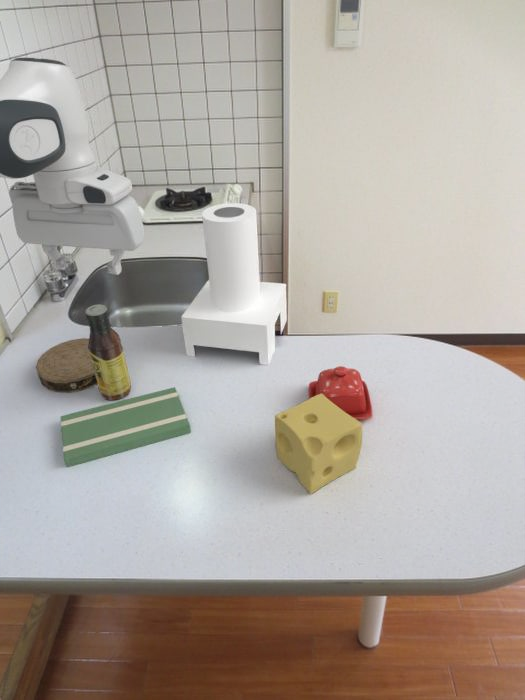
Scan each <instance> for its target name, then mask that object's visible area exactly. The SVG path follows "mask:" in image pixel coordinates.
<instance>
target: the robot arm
mask: <svg viewBox="0 0 525 700" xmlns="http://www.w3.org/2000/svg"><path fill="white" fill-rule="evenodd" d="M6 70H7V71H6V72H5V73H4V74H3V76H2V77H1V78H0V178H4V179H8V180H9V179H10V180H14V179H15V180H16V179H17V180H18V179H23V178H24V179H25V178H27V177H30V176H32V177H33V180H34V181H31V182H25V181H15V182H14V184H13V185H11V186H10V188H9V190H8V195H9V199H10V202H11V204H12V205H11V206H12V217H13V222H14V227H15V232H16V234H17V235H16V236H17V238H18V239H19V240H20V241H21V242H22V243H24V244H30V245H41V249H42V250H43V252H44V254H46V255H47V257H48V258H49V259H50V260H51V261H52V264H53V267H54V270H56V271H66V270H68V268H69V262H68V257H67V256H64V255H62V254H61V252H60V251H59V249H58V248H57V247H71V248H86V249H97V250H99V249H101V250H109V253H110V256H113V258H112V260H110V261H109V262H107V264H106V270H107V273H108V274H109V275H115V276H119V275H120V274H121V273H122V264H121V261H122V258H123V257H124V254H125V252H126V251H127V252H133V251H135V250H136V249H138V248H140V246H141V245H142V243H143V242H144V240H145V237H146V236H145V235H146V234H145V228H144V223H143V218H142V214H141V211H140V208H139V205H138V203H137V201H136V199H135V198H134V197H133V196H131V195H129V194H130V193H131V192H132V191H133V185H132V181H131V179H130V178H128V177H127V176H123V175H121V174H118V173H115V172H114V171H110V170H108V169H106V168H104V167H102V166H99V165H97V163H96V157H95V155H94V152H93V150H92V148H91V146H90V141H89V135H90V134H89V133H90V127H89V126H90V125H89V122H88V116H87V111H86V107H85V103H84V99H83V96H82V92H81V89H80V86H79V82H78V80H77V78H76V76H75V74H74V72H73V70H72V68H71V67H70V66H68V65H67V64H66V63H64V62H63V61H59V60H55V59H50V58H37V57H16V58H14V59H11V60H10V61H9V64H8V68H7V69H6Z"/></svg>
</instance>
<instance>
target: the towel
mask: <svg viewBox="0 0 525 700" xmlns="http://www.w3.org/2000/svg"><path fill="white" fill-rule="evenodd" d="M183 406H184V405H183V404H182V402H181V399H180V397H179V393H178V391H177V388H176V387H175V386H174V387H170V388H166V389H162V390H158V391H154V392H149V393H147V394H142V395H138V396H134V397H131V398H125V399H123V400H119V401H114V402H111V403H107V404H103V405H99V406H94V407H92V408H88V409H84V410H80V411H75V412H73V413H68V414H64V415H60V427H61V429H60V430H61V439H62V441H61V442H62V452H63V460H64V464H65V465H66V468H70V467H73V466H76V465H80V464H84V463H87V462H91V461H95V460H98V459H102V458H105V457H109V456H112V455H116V454H119V453H123V452H126V451H130V450H134V449H137V448H142V447H146V446H148V445H151V444H152V445H153V444H155V443H159V442H162V441H165V440H170V439H173V438H176V437H177V438H178V437H180V436H183V435H184V436H185V435H188V434H191V432H192V431H191V424H190V422H189V419H188V416H187V414H186V412H185V409H184V407H183Z"/></svg>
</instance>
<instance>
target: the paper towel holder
mask: <svg viewBox="0 0 525 700" xmlns="http://www.w3.org/2000/svg"><path fill="white" fill-rule="evenodd" d="M201 218H202V227H203V237H204V244H205V253H206V262H207V271H208V272H207V273H208V280H207V281H206V282H205V284H204V285H203V286H202V288H201V289H200V291H199V292H198V293H197V295H196V296H195V297H194V298H193V299H192V302H191V303H190V304H189V305H188V307H187V308H186V309H185V311H184V312H183V314H182V315H181V318H180V319H181V326H182V332H183V339H184V346H185V353H186V356H187V357H196V354H195V353H196V352H195V347H194V346H199V347H207V348H208V347H209V348H217V349H227V350H234V351H235V350H236V351H245V352H253V353H258V359H259V365H264V366H269V365H270V362H271V360H272V357H273V356H274V353H275V350H276V322H277V321H280V335H282V333H283V331H284V328H285V327H286V325H287V321H288V313H287V312H288V311H287V310H288V309H287V307H288V306H287V305H288V303H287V283H282V282H267V281H261V280H260V279H261V278H260V259H259V240H258V238H259V235H258V216H257V209H256V208H255V207H254V206H252V205H250V204H247V203H239V202H229V203H219V204H215V205H212V206H209V207H207V208H205V209H204V210H203V211H202V212H201Z"/></svg>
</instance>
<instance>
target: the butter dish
mask: <svg viewBox="0 0 525 700" xmlns="http://www.w3.org/2000/svg"><path fill="white" fill-rule="evenodd" d="M319 394H323V395H324V396H325V397H326V398H327V399H329V400H330V401H331V402H332V403H334V404H335V405H336V406H338V407H339V408H340V409H341V410H343V411H344V412H345V413H347V414H348V415H350V416H352V417H353V418H355V419H356V420H368V419H372V418H373V407H372V402H371V397H370V393H369V389H368V385H367V383H366V382H365V381H364V380H363V378H362V376H361V373H360V371H358V370H357V369H355V368H350V367H346V366H344V365H343V366H341V365H340V366H336V367H334V368H327V369H325V370H322V371H320V372H319V374H318V376H317V380H313V381H311V382H309V384H308V399H310V398H312V397H314V396H316V395H319Z"/></svg>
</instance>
